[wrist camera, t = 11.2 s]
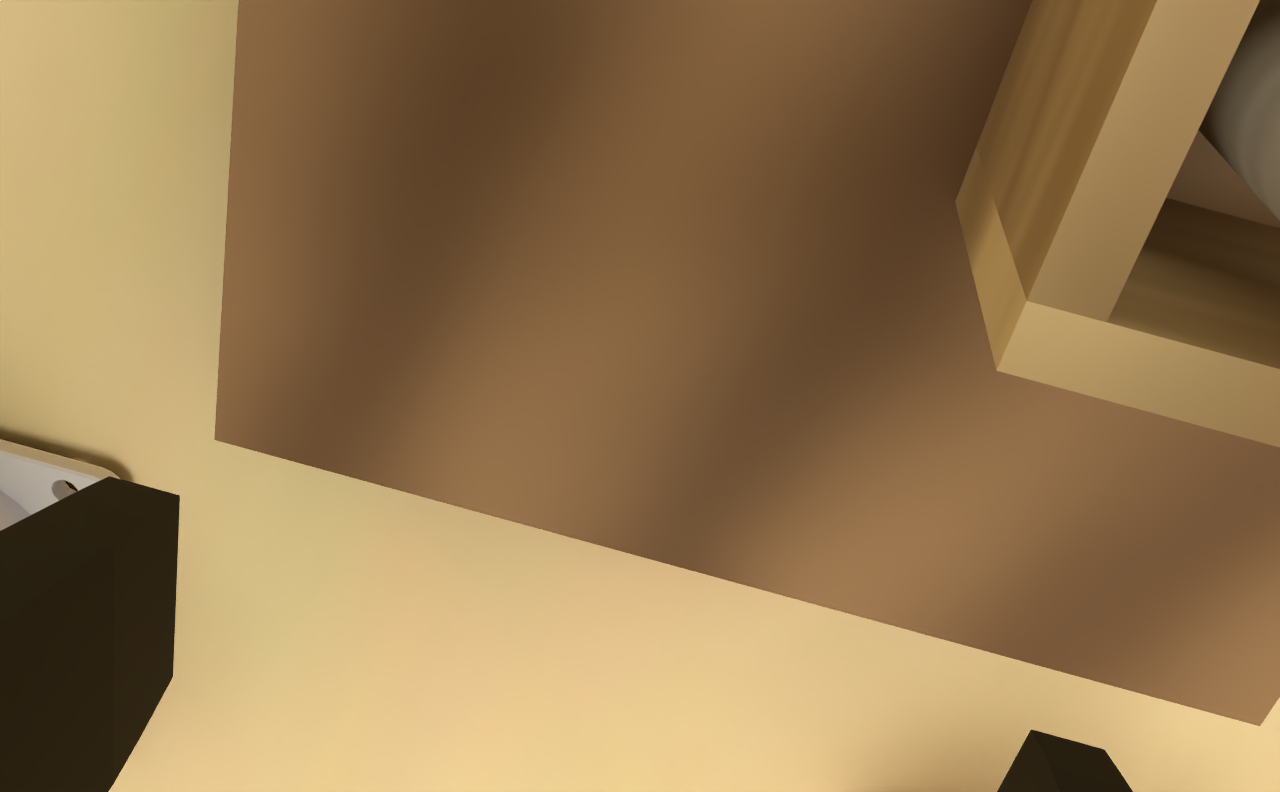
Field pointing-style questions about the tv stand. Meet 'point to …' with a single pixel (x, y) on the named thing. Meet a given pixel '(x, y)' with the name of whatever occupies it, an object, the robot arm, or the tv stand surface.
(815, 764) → the tv stand surface
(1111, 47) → the hollow wooden box
